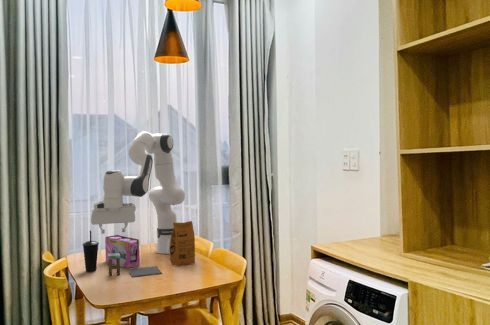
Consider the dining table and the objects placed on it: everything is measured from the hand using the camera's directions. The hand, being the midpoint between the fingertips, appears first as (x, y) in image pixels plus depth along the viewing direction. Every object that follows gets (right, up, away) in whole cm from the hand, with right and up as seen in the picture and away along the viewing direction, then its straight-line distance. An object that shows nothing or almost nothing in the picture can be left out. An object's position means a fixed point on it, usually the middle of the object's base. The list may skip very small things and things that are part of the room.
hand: (113, 232), depth 198 cm
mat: (+14, -20, +4) cm, 25 cm away
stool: (0, -20, 0) cm, 20 cm away
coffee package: (+30, -20, +20) cm, 41 cm away
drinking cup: (-13, -20, +7) cm, 26 cm away
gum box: (-2, -20, +22) cm, 30 cm away
